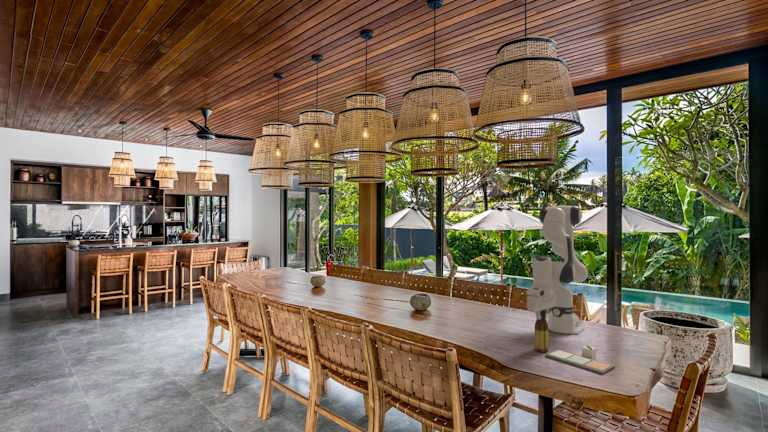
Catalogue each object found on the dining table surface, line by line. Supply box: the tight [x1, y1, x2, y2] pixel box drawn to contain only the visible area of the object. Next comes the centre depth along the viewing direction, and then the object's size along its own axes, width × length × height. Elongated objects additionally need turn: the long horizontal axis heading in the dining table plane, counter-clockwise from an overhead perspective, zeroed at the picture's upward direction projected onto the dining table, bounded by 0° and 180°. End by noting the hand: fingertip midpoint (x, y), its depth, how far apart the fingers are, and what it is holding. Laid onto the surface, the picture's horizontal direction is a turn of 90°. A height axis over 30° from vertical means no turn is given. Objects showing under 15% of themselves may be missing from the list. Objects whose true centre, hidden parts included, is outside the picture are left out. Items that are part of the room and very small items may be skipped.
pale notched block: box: [581, 345, 597, 360], centre depth 179 cm, size 4×4×5 cm
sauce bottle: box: [534, 309, 550, 353], centre depth 187 cm, size 6×6×20 cm
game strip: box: [544, 348, 616, 375], centre depth 173 cm, size 12×25×1 cm, turn 38°
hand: (541, 318), depth 187 cm, fingers closed on sauce bottle, 4 cm apart
